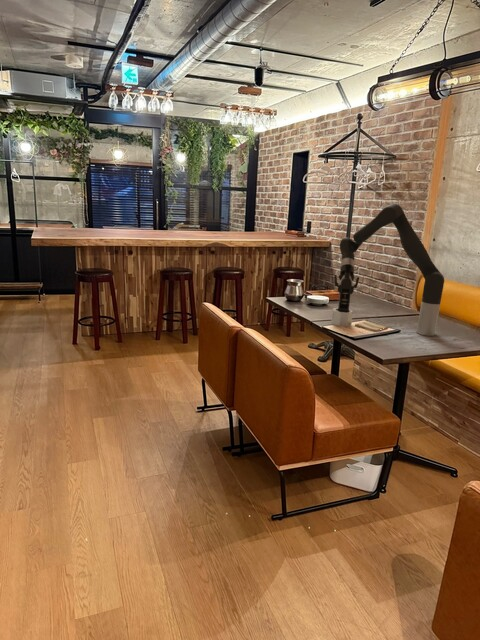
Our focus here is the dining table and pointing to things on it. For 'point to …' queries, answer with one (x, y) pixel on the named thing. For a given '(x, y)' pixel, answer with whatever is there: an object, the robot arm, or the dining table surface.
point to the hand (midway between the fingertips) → (345, 292)
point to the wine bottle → (345, 291)
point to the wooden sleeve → (341, 318)
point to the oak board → (371, 325)
